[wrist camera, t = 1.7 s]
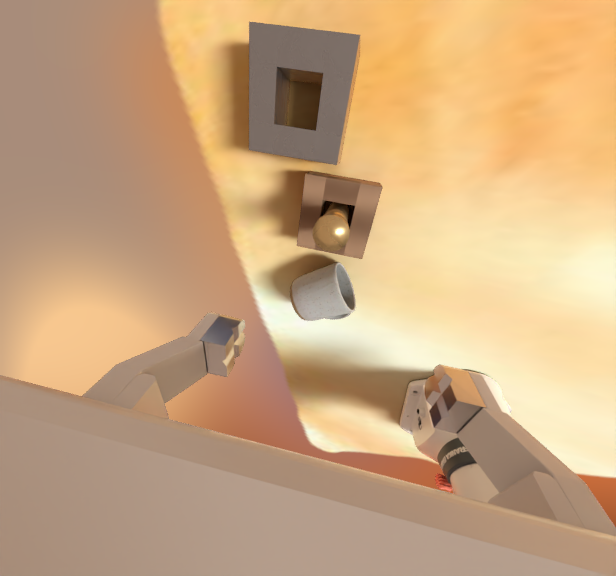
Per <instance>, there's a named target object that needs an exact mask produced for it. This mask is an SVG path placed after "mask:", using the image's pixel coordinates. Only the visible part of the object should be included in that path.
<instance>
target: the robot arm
mask: <svg viewBox="0 0 616 576" xmlns="http://www.w3.org/2000/svg"><path fill="white" fill-rule="evenodd" d="M244 328H245V321H244V320H242V319H238V318H234V317H230V316H226V315H220V314H217V313H213V312H209V313H207V314H206V315H205V316H204V318H203V319H202V320H201V321H200V322H199V323H198V324H197V326H196V327H195V328H194V329H193V330H192V331H191V332H190V334H189V335H188V336H187V337H181V338H178V339H176V340H173V341H171V342H169V343H166V344H164V345H162V346H160V347H157V348H155V349H152V350H150V351H148V352H145V353H143V354H140V355H138V356H136V357H133V358H131V359H129V360H126V361H124V362H122V363H119V364H117V365H115V366H114V367H113V368H112V369H111V370H110V371H109V372H108V373H107V374H106V375H104V377H102V378H101V379H100V380H99V381H98V382H97V383H96V384H95V385H94V386H93V387H91V388H90V389H89V390H88V391H87V392H86V393H85V394H84V395H83V396H78V395H74V394H70V393H67V392H63V391H59V390H55V389H51V388H48V387H44V386H40V385H36V384H32V383H29V382H25V381H21V380H17V379H13V378H9V377H6V376H2V375H0V576H616V527H615V526H614V524H613V523H612V521H611V520H610V518H609V517H608V516H607V514H606V513H605V511H604V510H603V508H602V507H601V505H600V504H599V502H598V501H597V499H596V498H595V496H594V495H593V494H592V492H591V491H590V489H589V488H588V486H587V485H586V483H585V482H584V481H583V480H581V479H580V478H579V477H578V476H577V475H576V474H575V473H574V472H572V471H571V470H570V469H569V468H568V467H567V466H566V465H565V464H563V463H562V462H561V461H560V460H559V459H558V458H557V457H556V456H554V455H553V454H552V453H551V452H550V451H549V450H548V449H547V448H545V447H544V446H543V445H542V444H541V443H540V442H539V441H538V440H536V439H535V438H534V437H533V436H532V435H531V434H530V433H529V432H527V431H526V430H525V429H524V428H523V427H522V426H521V425H519V424H518V423H517V422H516V421H515V420H514V419H513V418H512V416H511V414H510V413H511V411H512V410H511V407H510V405H509V403H508V402H507V401H506V400H505V399H504V397H503V394H502V390H501V388H500V386H499V384H498V383H497V382H496V381H495V380H493V379H492V378H490V377H488V376H486V375H484V374H481V373H477V372H472V371H468V370H463V369H458V368H453V367H449V366H444V365H440V364H439V365H437V366H436V367H435V369H434V370H433V371H434V374H435V375H433V376H430V377H428V379H424V380H416V381H412V382H410V383H409V385H408V389H407V393H406V397H405V401H404V405H403V409H402V413H401V418H400V427H401V428H402V429H403V430H405V431H406V432H408V433H410V434H412V435H413V437H414V441H415V445H416V447H417V449H418V450H419V451H420V452H421V453H423V454H424V455H426V456H428V457H430V458H431V459H433V460H435V461H436V462H438V463H439V465H440V467H441V469H442V470H443V473H444V475H445V476H443V475H441V474H438V473H437V475H436V479H435V481H436V484H437V486H438V488H440V489H446V490H448V491H451V490H452V489H453V492H454V494H452V493H448V492H444V491H440V490H437V489H433V488H429V487H425V486H421V485H418V484H414V483H410V482H406V481H402V480H399V479H394V478H391V477H387V476H383V475H380V474H376V473H372V472H368V471H364V470H360V469H356V468H353V467H349V466H345V465H342V464H338V463H333V462H330V461H326V460H322V459H319V458H315V457H311V456H307V455H303V454H299V453H296V452H292V451H288V450H284V449H280V448H277V447H272V446H269V445H265V444H261V443H257V442H254V441H250V440H246V439H242V438H238V437H235V436H230V435H227V434H223V433H219V432H215V431H212V430H208V429H204V428H200V427H196V426H192V425H189V424H184V423H181V422H177V421H173V420H169V417H168V413H167V410H166V407H165V403H166V402H168V401H169V400H171V399H172V398H173V397H175V396H176V395H178V394H179V393H181V392H182V391H184V390H185V389H186V388H188V387H189V386H191V385H192V384H194V383H195V382H196V381H198V380H199V379H201V378H202V377H204V376H205V375H207V373H210V374H215V375H220V376H224V377H228V375H229V373H230V371H231V370H232V368H233V366H234V364H235V362H234V358H236V357H238V356H239V355H240V353H241V351H242V348H243V346H244V342H245V334H244V333H243V329H244Z"/></svg>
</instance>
